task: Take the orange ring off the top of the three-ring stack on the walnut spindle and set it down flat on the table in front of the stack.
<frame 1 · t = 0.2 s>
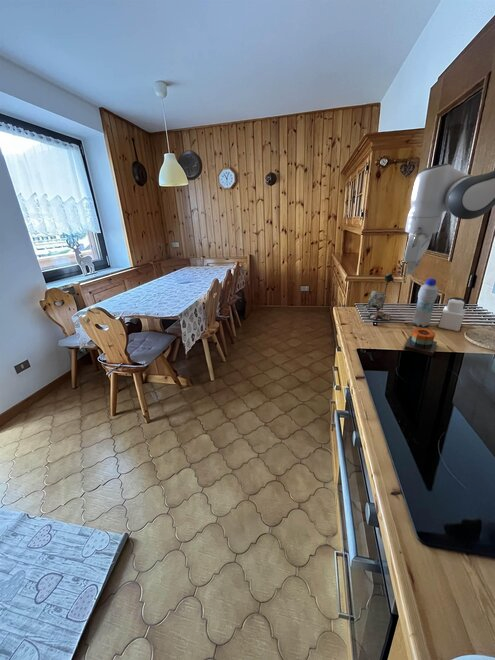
hand: (412, 270, 93), 29 cm above the counter, tool pointing down, fingers open, 8 cm apart
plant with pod: (377, 317, 128), on the counter
sage ring: (422, 339, 102), point 3 cm above the counter, touching charcoal ring, orange ring
spindle: (420, 347, 104), on the counter
orange ring: (423, 336, 102), point 5 cm above the counter, touching sage ring
bottle: (420, 325, 119), on the counter
charcoal ring: (421, 343, 103), point 1 cm above the counter, touching sage ring, spindle
medicine bottle: (449, 326, 117), on the counter
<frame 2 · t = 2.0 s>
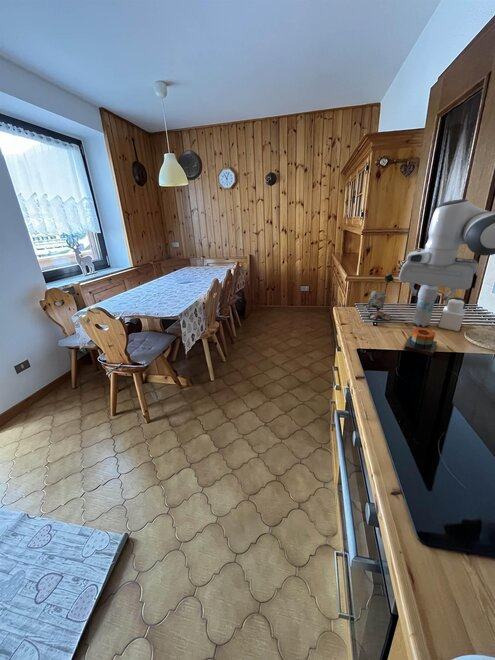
hand: (428, 297, 95), 19 cm above the counter, tool pointing down, fingers open, 8 cm apart
nothing on the counter moved.
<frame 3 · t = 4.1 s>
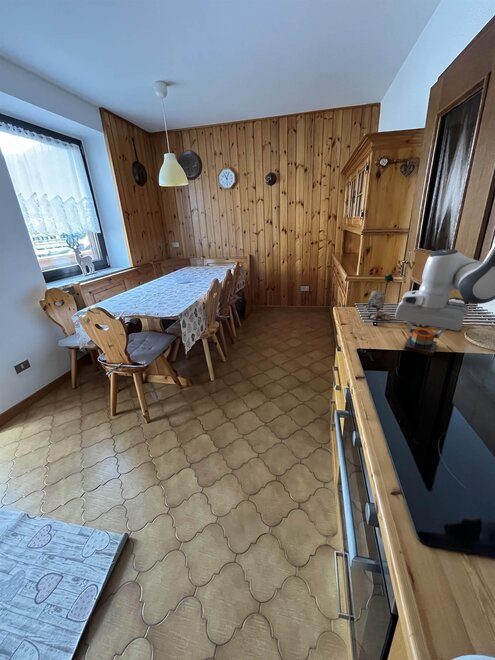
hand: (423, 334, 101), 5 cm above the counter, tool pointing down, fingers closed on orange ring, 7 cm apart
orange ring: (423, 336, 102), point 5 cm above the counter, touching gripper, sage ring
everything else where it was.
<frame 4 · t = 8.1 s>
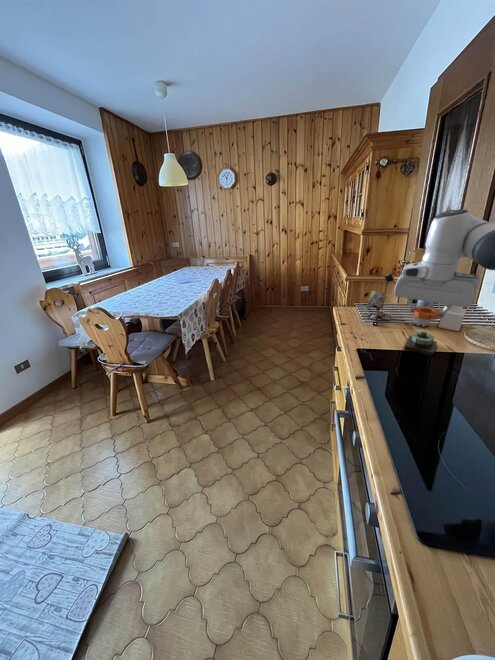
hand: (426, 313, 88), 18 cm above the counter, tool pointing down, fingers closed on orange ring, 7 cm apart
sage ring: (422, 339, 102), point 3 cm above the counter, touching charcoal ring
orange ring: (425, 315, 88), point 17 cm above the counter, touching gripper
everything else where it was.
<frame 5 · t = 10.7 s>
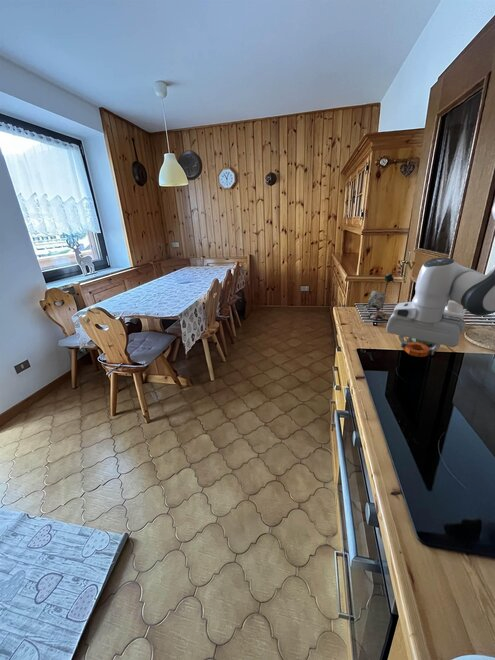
hand: (416, 350, 93), 5 cm above the counter, tool pointing down, fingers closed on orange ring, 7 cm apart
orange ring: (416, 351, 94), point 5 cm above the counter, touching gripper
everything else where it was.
when the fingers open (0 cm above the counter, at t = 12.5 s): orange ring stays where it is, on the counter.
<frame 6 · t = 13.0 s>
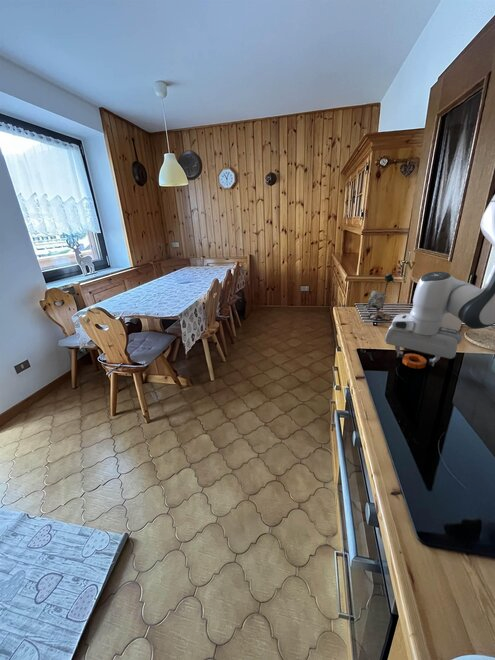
hand: (414, 360, 95), 1 cm above the counter, tool pointing down, fingers open, 8 cm apart
orange ring: (413, 362, 96), on the counter
everything else where it was.
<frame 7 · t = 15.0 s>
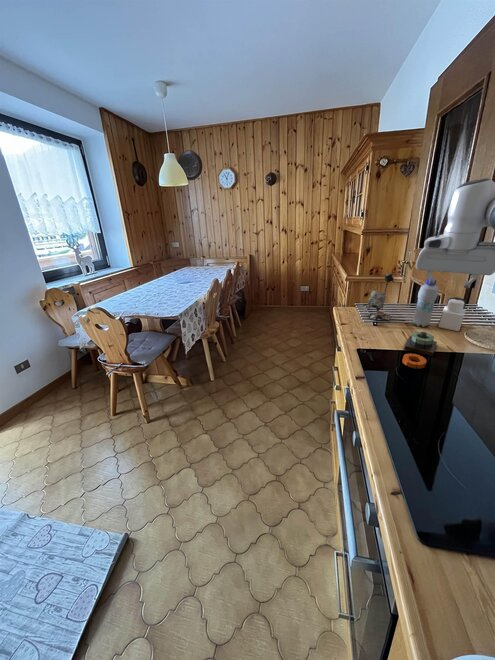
hand: (448, 285, 90), 24 cm above the counter, tool pointing down, fingers open, 8 cm apart
nothing on the counter moved.
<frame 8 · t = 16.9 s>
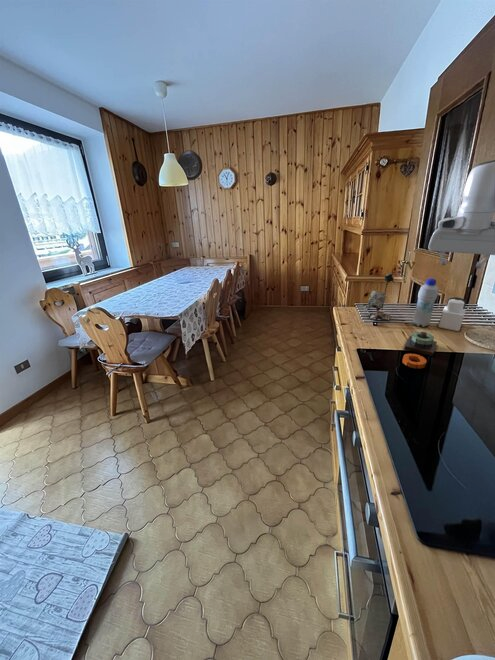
hand: (460, 266, 92), 29 cm above the counter, tool pointing down, fingers open, 8 cm apart
nothing on the counter moved.
at the end: orange ring inside the target area (0.1 cm from its centre), on the counter; orange ring tilted 0°; sage ring moved 0.0 cm from its start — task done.
